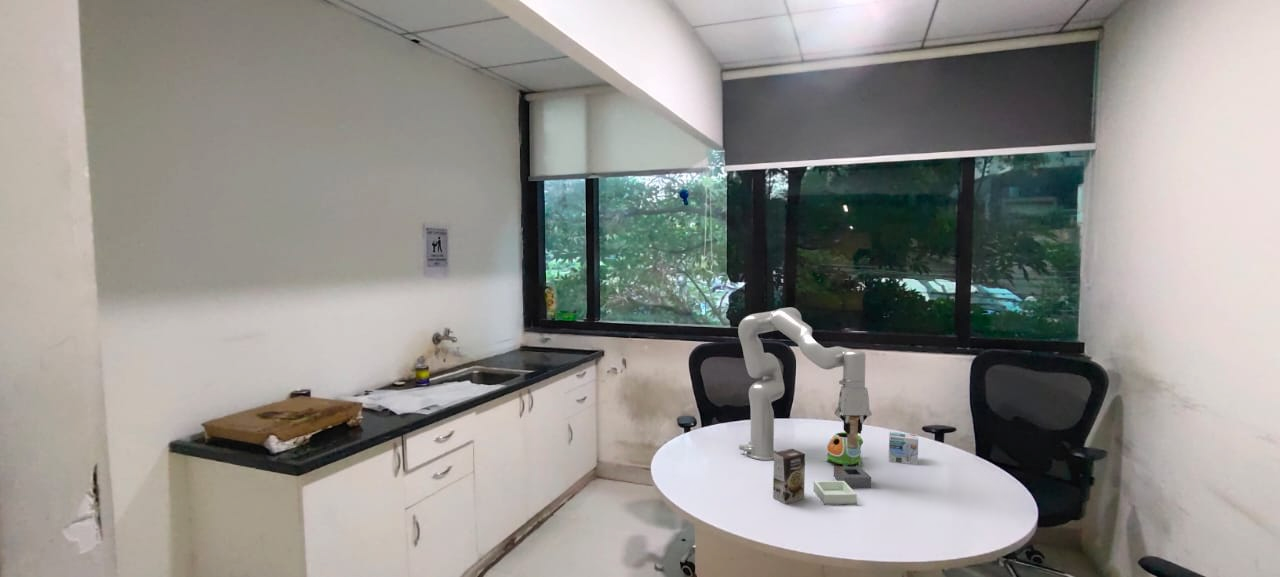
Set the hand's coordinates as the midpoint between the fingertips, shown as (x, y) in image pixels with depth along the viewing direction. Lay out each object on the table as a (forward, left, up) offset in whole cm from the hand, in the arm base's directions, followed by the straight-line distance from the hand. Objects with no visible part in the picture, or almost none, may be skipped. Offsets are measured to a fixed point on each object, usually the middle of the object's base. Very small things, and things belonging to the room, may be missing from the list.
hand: (852, 432), depth 202 cm
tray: (-11, -12, -19) cm, 25 cm away
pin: (0, 0, -6) cm, 6 cm away
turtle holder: (+5, +19, -19) cm, 28 cm away
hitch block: (0, 0, -19) cm, 19 cm away
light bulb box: (+29, +20, -19) cm, 40 cm away
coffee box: (-27, -12, -19) cm, 35 cm away
